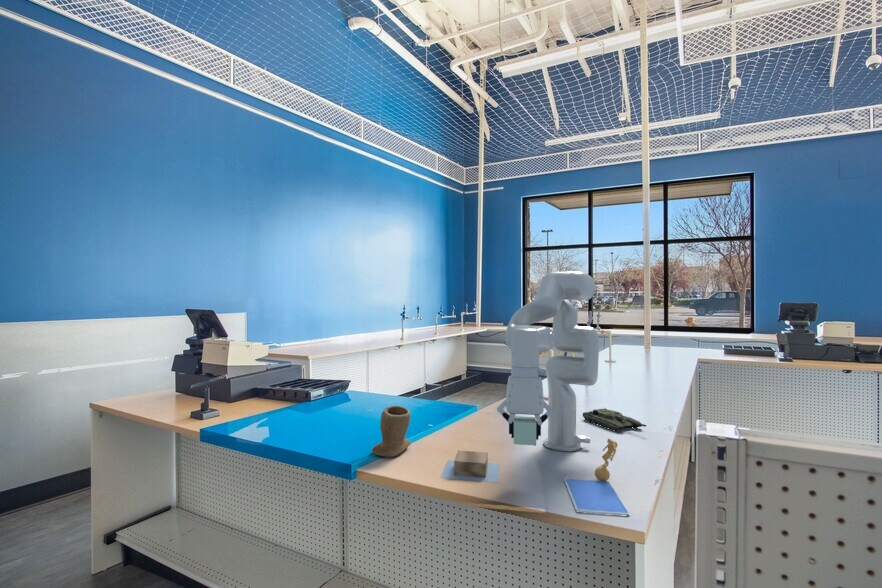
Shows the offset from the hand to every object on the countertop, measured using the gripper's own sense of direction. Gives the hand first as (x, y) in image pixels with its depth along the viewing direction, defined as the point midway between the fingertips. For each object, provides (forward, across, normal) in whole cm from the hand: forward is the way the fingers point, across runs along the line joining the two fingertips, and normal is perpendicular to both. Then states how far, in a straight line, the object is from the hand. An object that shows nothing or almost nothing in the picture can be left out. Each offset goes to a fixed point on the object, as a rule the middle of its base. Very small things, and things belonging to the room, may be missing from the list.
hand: (524, 436), depth 119 cm
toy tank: (+15, -39, -65) cm, 78 cm away
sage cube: (+1, 0, 0) cm, 1 cm away
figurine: (+13, -23, -6) cm, 27 cm away
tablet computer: (+14, -18, +5) cm, 23 cm away
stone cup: (+13, +42, -17) cm, 48 cm away
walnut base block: (+12, +15, -4) cm, 20 cm away
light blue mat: (+13, +15, -4) cm, 20 cm away
